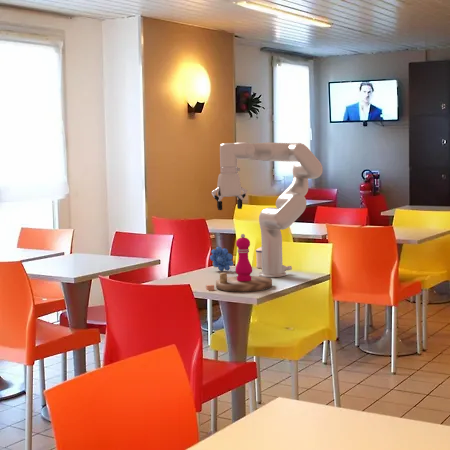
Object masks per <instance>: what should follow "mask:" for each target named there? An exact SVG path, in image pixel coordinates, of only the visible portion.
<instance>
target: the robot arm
mask: <svg viewBox="0 0 450 450" xmlns="http://www.w3.org/2000/svg"><path fill="white" fill-rule="evenodd" d="M238 160H248V161H250V160H251V161H253V160H254V161H260V162H261V161H263V162H265V161H266V162H290V163H291V162H295V163H294V165H293V168H292V183H291V184H290V185H289V186H288V187H287V188H286V189H285V190H284V191H283V192H282V193H281V194H280V195H279V196H278V198H277V199H276V201H275V207H266V208H264V209H262V210H261V211H260V213H259V216H258V223H259V228H260V234H261V235H260V237H261V247H262V269H261V272H258V276H259V277H267V278H281V277H285V276H286V275H287V271H291V270H292V269H293V267H292V265H287V266H286V265H285V264H283V236H282V232H281V230H283V231H284V230H286V229H288V228H289V227H290V226H292V224H293V223H295V222H296V221H297V219H298V218H300V217H301V215H302V214H303V213H304V212H305V210H306V208H307V199H306V197H305V196H306V195H307V193H308V191H309V180H315V179H319V178H320V177H321V176H322V174H323V170H324V169H323V165H322V162H320V160H319V159H318V158H317V157H316V155H315V154H314V153H313V152H312V151H311V150H310V149H309V147H307V146H306V145H305V144H303V143H301V142H293V143H292V142H291V143H290V142H289V143H288V142H272V141H271V142H267V141H266V142H258V143H255V142H254V143H253V142H251V143H250V142H243V141H242V142H241V141H240V142H226V143H220V145H219V164H220V165H219V166H220V168H219V169H220V173H219V174H218V177H217V187H216V188H215V189H213V190H212V191H211V195H212V196H213V197H212V198H214V200H215V201H216V203H217V204H216V207H217V210H218V211H223V201H222V200H223V199H224V198H225V197H226V198H228V197H236V199H237V201H236V207H237V209H239V210H242V209H243V200H244V199H245V197H246V196H247V192H248V189H246V188H245V187H243V186H241V184H242V183H241V179H240V178H241V177H240V174H239V173H238V172H240V171H241V168H240V167H238Z"/></svg>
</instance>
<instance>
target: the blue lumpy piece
mask: <svg viewBox="0 0 450 450" xmlns="http://www.w3.org/2000/svg"><path fill="white" fill-rule="evenodd" d="M210 253H211V255H210V256H209V260H210V261H211V262H212V266H213V267H214V268H218V270H219V271H221V272H223V271H224V270H225V271H229V270H230V269H231V267H232V266H233V265H234V262H233V260H232V259H233V254H232V253H229V250H228V249H227V248H225V247H223V248H222V247H220V246H216V247H215V249H214V248H213V249H211V251H210Z"/></svg>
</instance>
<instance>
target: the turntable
mask: <svg viewBox="0 0 450 450" xmlns="http://www.w3.org/2000/svg"><path fill="white" fill-rule="evenodd" d="M237 276H238V275H237ZM237 276H236V275H235V276H228V273H227V272H220V273H219V279H217V280H216V281H215V288H216V289H218V290H220V291H223V292H224V291H226V292H257V291H263V290H267V289H271V288H273V279H272V278H271V277H261V276H259V275H258V276H257V275H256V276H255V275H250V276H251V281H237Z"/></svg>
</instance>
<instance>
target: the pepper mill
mask: <svg viewBox="0 0 450 450" xmlns="http://www.w3.org/2000/svg"><path fill="white" fill-rule="evenodd" d="M235 245H236V248H237V253H238V259H237V260H238V261H237V264H236V265H235V271H234V272H235V273H236V274H237V281H251V276H252V275H251V274H252V273H253V266H252V263H251V262H250V259H249V252H250V249H249V248H250V246H251V241H250V240H249V238H248V237H246V235H245V234H244V233H241V235H240V238H237V240H236V242H235Z"/></svg>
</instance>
